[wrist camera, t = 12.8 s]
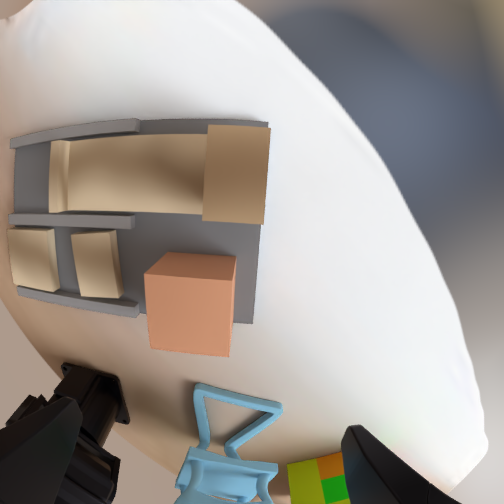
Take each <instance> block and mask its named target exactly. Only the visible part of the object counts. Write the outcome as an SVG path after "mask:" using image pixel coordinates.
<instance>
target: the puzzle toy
mask: <svg viewBox="0 0 504 504" xmlns="http://www.w3.org/2000/svg"><path fill="white" fill-rule="evenodd" d="M287 471H288V480H289V489H290V498H291V504H350V500H349V496H348V492H347V487H346V483H345V475H344V466H343V458H342V452H339V453H335V454H331V455H327V456H323V457H319V458H315V459H310V460H306V461H301V462H296V463H291V464H287Z"/></svg>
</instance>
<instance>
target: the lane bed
mask: <svg viewBox="0 0 504 504" xmlns="http://www.w3.org/2000/svg"><path fill="white" fill-rule="evenodd" d="M208 125H236V126H252V127H266V128H268V122H261V121H247V120H227V119H162V120H142V121H141V120H139V119H137V118H133V119H121V120H111V121H102V122H94V123H87V124H80V125H74V126H68V127H62V128H56V129H51V130H46V131H41V132H37V133H32V134H28V135H24V136H20V137H16V138H12V139H10V149H16V152H15V168H14V213H12V214H8V219H9V224H14V225H15V227H25V228H49V229H54V234H55V247H56V258H57V267H58V275H59V282H60V288H59V289H57V290H56V291H54V292H51V291H45V290H40V289H35V288H31V287H26V286H21V285H19V286H17V291H18V295H19V296H23V297H27V298H31V299H36V300H40V301H44V302H49V303H54V304H58V305H63V306H68V307H73V308H78V309H83V310H89V311H94V312H100V313H106V314H112V315H118V316H125V317H131V318H136V317H137V316H138V314H139V313H143V314H147V310H146V298H145V282H144V273H145V272H146V271H148V270H149V269H150V268H151V267H152V266H153V265H154V264H155V263H156V262H157V261H158V260H159V259H161V258H162V257H163V256H164V255H165V254H166V253H167V252H177V253H192V254H206V255H222V256H237V258H236V276H235V295H234V315H233V323H245V324H253V315H254V303H255V291H256V279H257V266H258V254H259V241H260V229H261V224H248V223H233V222H217V221H202V214H182V213H160V212H132V211H89V210H67V211H62V212H58V213H49V167H50V151H51V141H57V140H64V141H78V140H86V139H96V138H106V137H118V136H133V135H155V134H208ZM103 230H116V235H117V244H118V252H119V260H120V268H121V275H122V281H123V287H124V294H122V295H121V296H120V297H119V298H104V297H86V296H81V293H80V288H79V283H78V278H77V272H76V266H75V260H74V254H73V247H72V240H71V235H72V234H74V233H77V232H86V231H103Z"/></svg>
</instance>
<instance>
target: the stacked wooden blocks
mask: <svg viewBox="0 0 504 504" xmlns="http://www.w3.org/2000/svg"><path fill="white" fill-rule="evenodd" d="M270 131H271V128H266V127H252V126H236V125H208V134H155V135H133V136H118V137H106V138H96V139H86V140H78V141H64V140H57V141H51V151H50V167H49V213H58V212H62V211H67V210H89V211H132V212H160V213H182V214H202V221H217V222H233V223H248V224H262V225H263V224H264V211H265V199H266V186H267V172H268V159H269V145H270Z"/></svg>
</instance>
